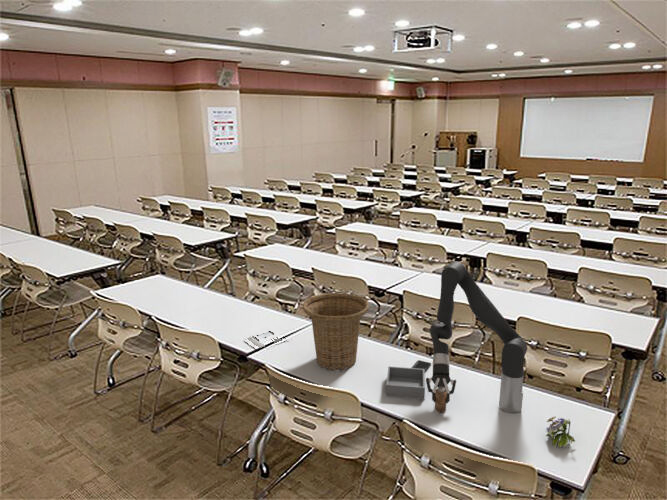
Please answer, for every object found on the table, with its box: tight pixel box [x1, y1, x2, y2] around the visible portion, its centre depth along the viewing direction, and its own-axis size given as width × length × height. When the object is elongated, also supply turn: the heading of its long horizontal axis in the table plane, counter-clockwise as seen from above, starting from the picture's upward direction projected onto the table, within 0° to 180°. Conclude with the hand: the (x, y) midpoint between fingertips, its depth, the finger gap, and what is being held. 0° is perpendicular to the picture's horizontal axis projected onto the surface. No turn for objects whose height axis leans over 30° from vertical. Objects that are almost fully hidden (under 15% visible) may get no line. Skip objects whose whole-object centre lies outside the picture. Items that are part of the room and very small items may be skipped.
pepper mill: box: [434, 387, 447, 413], centre depth 219 cm, size 5×5×10 cm
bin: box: [385, 365, 426, 400], centre depth 237 cm, size 18×18×6 cm
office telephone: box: [246, 336, 288, 348], centre depth 292 cm, size 23×3×20 cm
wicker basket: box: [302, 292, 370, 371], centre depth 261 cm, size 35×35×33 cm
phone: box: [411, 360, 432, 374], centre depth 256 cm, size 8×1×15 cm
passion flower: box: [545, 416, 576, 448], centre depth 197 cm, size 11×11×12 cm
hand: (440, 402), depth 217 cm, fingers closed on pepper mill, 5 cm apart
